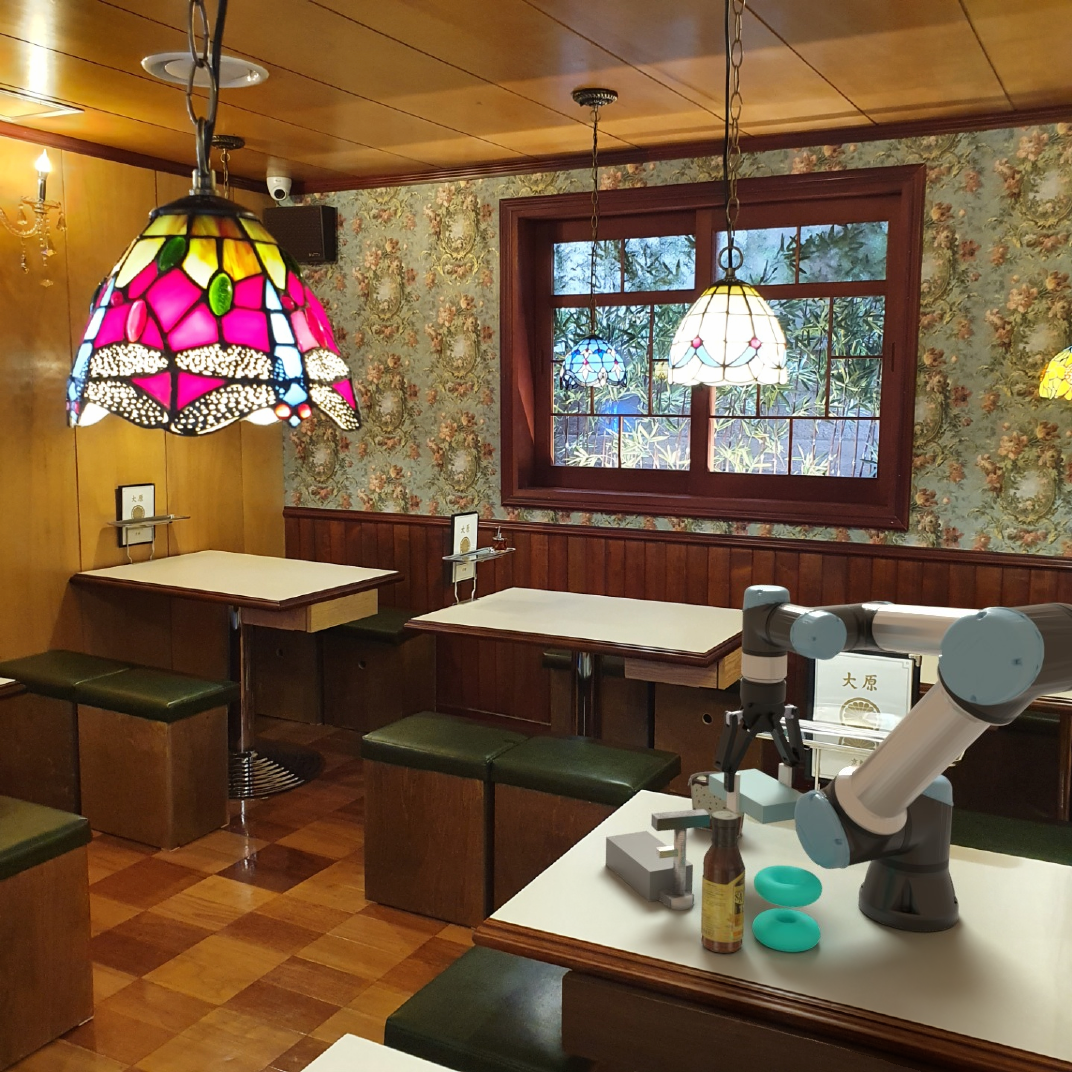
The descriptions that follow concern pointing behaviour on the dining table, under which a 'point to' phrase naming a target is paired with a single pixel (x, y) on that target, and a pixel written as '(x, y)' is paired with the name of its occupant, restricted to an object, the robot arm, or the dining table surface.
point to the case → (647, 868)
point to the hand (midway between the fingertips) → (758, 806)
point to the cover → (760, 796)
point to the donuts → (786, 924)
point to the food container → (709, 798)
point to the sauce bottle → (723, 887)
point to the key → (678, 839)
